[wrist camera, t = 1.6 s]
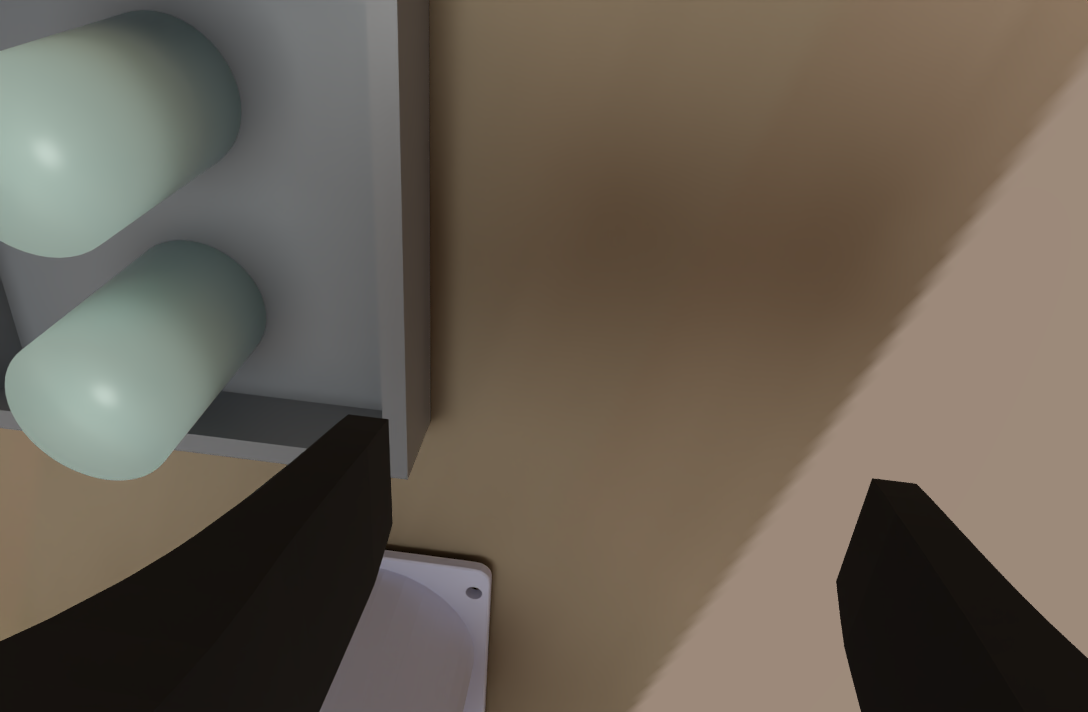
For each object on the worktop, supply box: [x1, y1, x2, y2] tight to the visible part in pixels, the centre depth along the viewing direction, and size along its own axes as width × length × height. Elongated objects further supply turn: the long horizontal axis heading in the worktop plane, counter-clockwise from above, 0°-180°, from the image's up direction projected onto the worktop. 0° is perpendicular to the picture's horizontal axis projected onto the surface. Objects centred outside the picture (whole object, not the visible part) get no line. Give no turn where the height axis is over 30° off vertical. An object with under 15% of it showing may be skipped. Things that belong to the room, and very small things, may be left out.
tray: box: [0, 0, 431, 479], centre depth 20 cm, size 12×12×3 cm
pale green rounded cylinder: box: [5, 240, 266, 480], centre depth 20 cm, size 4×4×5 cm
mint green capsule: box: [0, 10, 241, 258], centre depth 17 cm, size 4×4×5 cm
